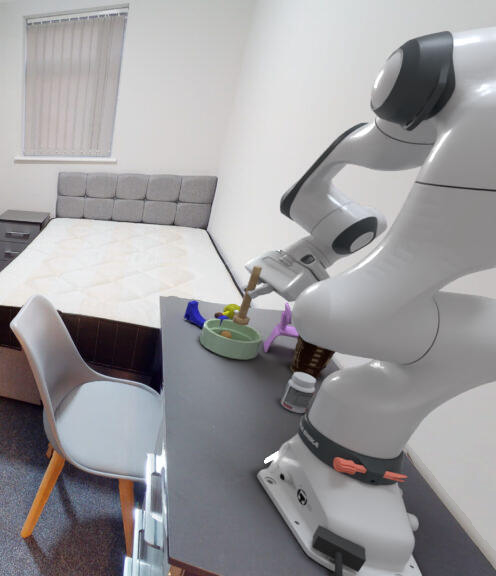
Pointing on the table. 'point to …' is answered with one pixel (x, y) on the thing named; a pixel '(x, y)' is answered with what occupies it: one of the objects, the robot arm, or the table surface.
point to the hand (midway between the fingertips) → (246, 293)
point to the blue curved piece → (197, 314)
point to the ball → (226, 334)
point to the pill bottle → (298, 392)
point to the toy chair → (282, 328)
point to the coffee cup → (310, 358)
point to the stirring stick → (247, 298)
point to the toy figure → (229, 311)
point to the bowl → (238, 346)
